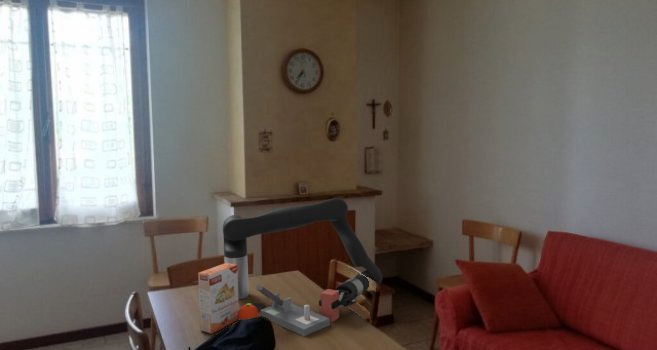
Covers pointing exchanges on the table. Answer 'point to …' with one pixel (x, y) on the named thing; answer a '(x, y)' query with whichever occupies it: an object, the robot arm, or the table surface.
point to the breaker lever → (270, 295)
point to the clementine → (248, 311)
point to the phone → (258, 306)
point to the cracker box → (218, 297)
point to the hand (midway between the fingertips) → (326, 305)
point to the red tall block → (329, 304)
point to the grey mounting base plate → (295, 317)
